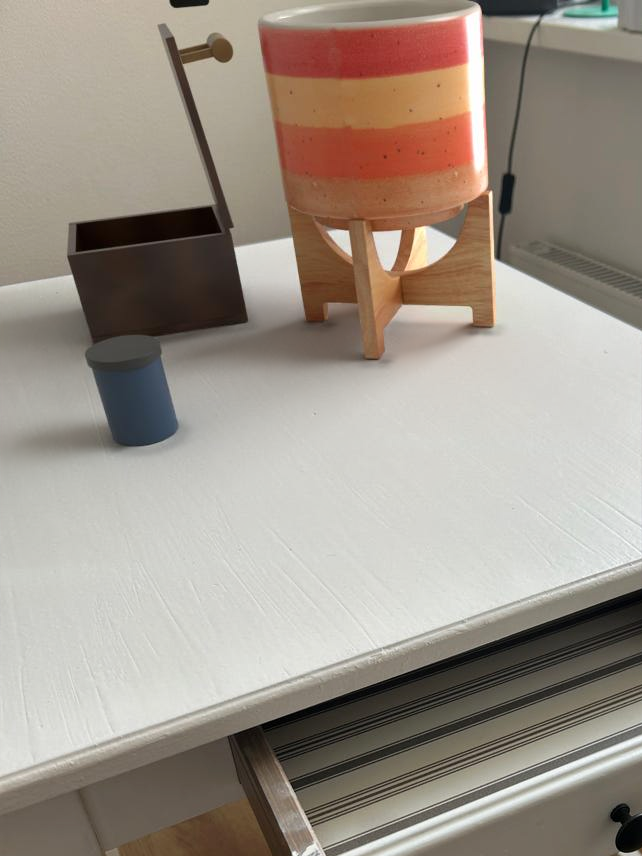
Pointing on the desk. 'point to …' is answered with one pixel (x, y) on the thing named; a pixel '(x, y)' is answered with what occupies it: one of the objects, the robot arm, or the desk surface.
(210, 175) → the lid
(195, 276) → the chest
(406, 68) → the planter
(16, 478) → the desk surface
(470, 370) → the desk surface
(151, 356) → the canister
